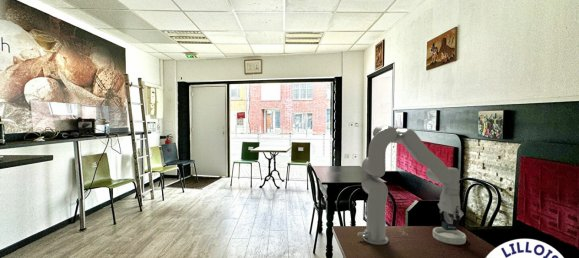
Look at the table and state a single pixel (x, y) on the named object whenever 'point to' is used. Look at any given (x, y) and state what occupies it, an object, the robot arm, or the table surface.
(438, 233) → the dish
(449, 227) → the watch
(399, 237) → the table surface
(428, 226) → the table surface
